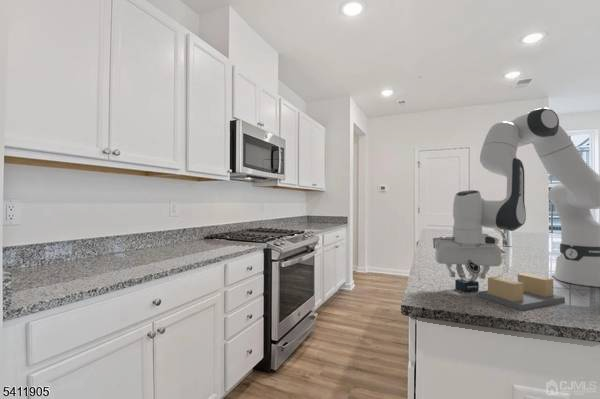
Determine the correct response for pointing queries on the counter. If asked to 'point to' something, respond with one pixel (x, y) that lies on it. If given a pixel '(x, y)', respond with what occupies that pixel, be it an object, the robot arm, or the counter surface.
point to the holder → (522, 292)
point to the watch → (465, 283)
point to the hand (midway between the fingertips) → (467, 277)
